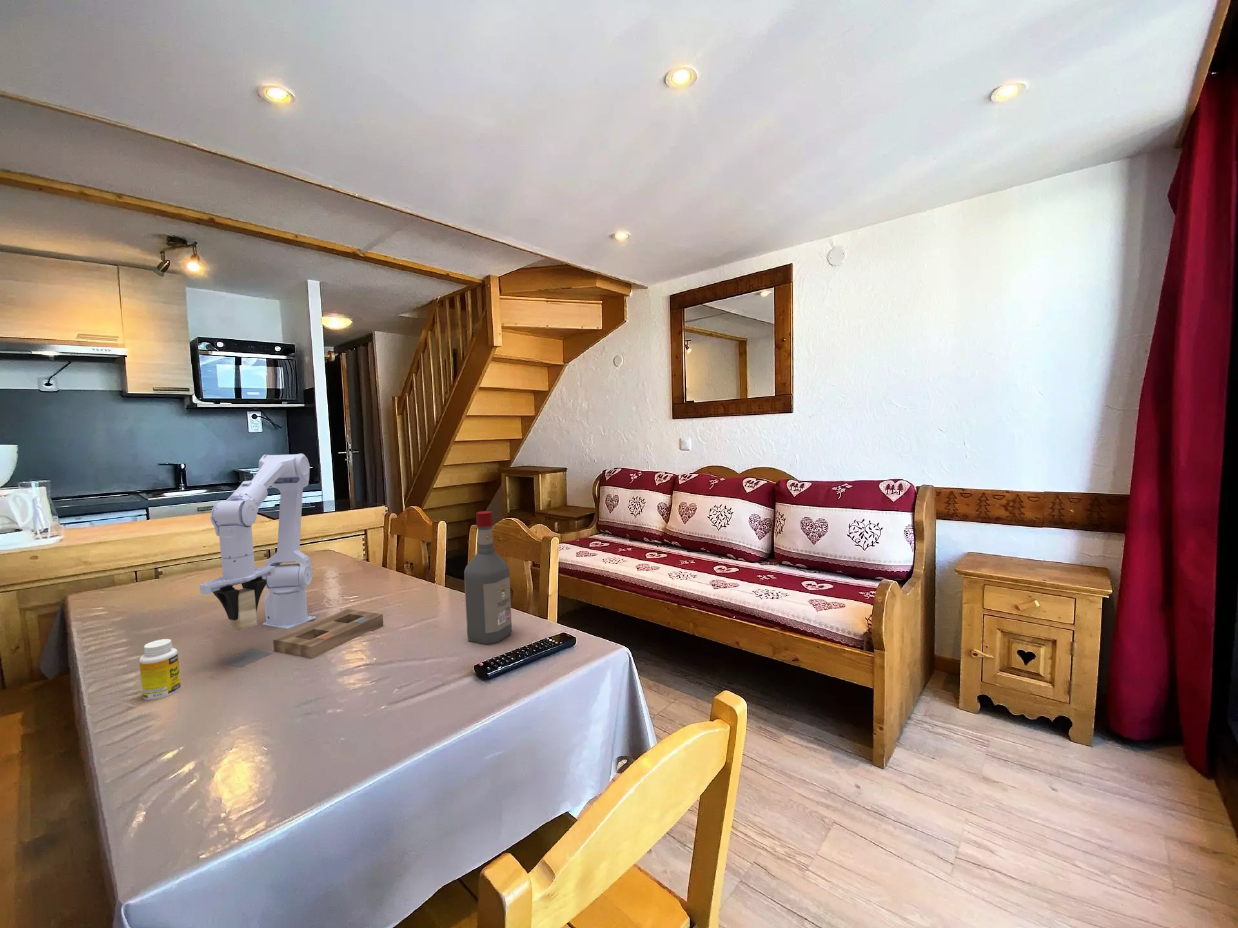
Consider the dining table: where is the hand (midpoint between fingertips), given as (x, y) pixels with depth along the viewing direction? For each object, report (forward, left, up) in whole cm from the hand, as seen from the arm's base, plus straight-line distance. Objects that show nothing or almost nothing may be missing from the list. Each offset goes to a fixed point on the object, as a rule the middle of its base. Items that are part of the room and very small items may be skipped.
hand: (242, 615), depth 114 cm
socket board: (+9, +14, -10) cm, 20 cm away
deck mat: (0, 0, -10) cm, 10 cm away
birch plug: (0, 0, -2) cm, 2 cm away
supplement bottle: (0, -16, -10) cm, 19 cm away
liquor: (+45, +27, -10) cm, 53 cm away
